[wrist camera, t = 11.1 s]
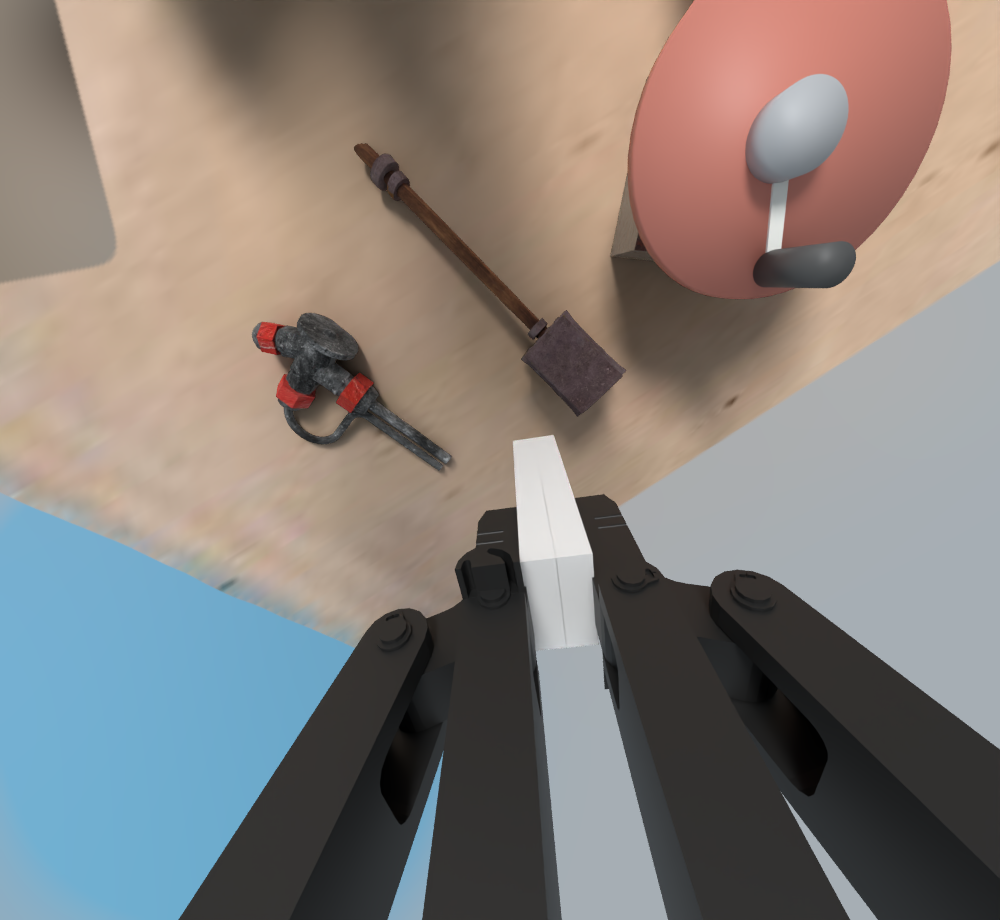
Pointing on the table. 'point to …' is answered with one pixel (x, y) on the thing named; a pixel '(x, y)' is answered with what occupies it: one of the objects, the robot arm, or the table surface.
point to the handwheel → (782, 137)
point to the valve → (332, 380)
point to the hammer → (515, 305)
